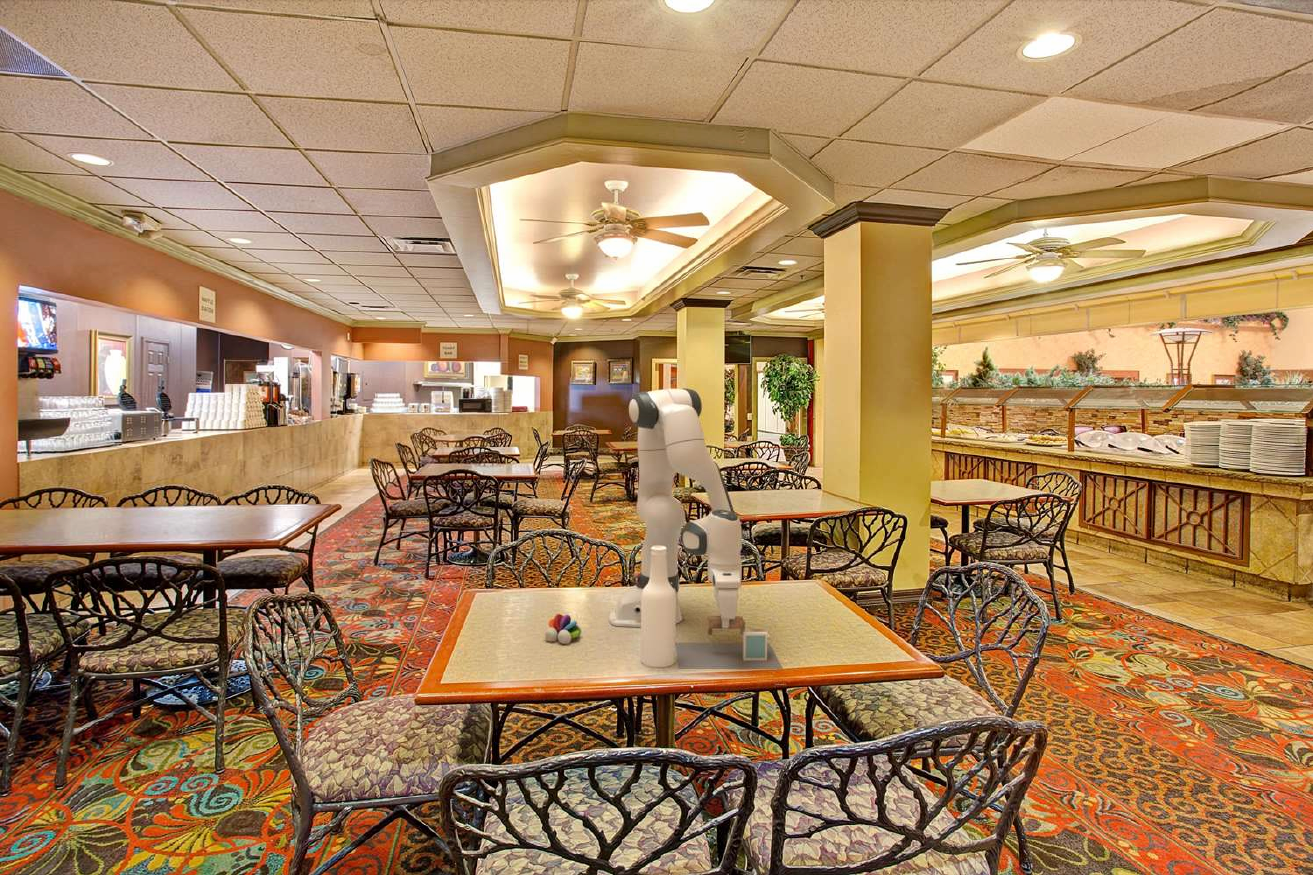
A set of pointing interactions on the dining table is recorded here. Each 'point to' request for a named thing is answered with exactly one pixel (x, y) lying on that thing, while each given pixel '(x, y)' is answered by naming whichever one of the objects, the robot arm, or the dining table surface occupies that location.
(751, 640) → the tile
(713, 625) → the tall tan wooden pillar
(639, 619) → the robot arm
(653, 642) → the alcohol
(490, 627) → the dining table surface
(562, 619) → the multicoloured ball cluster
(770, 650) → the mat
